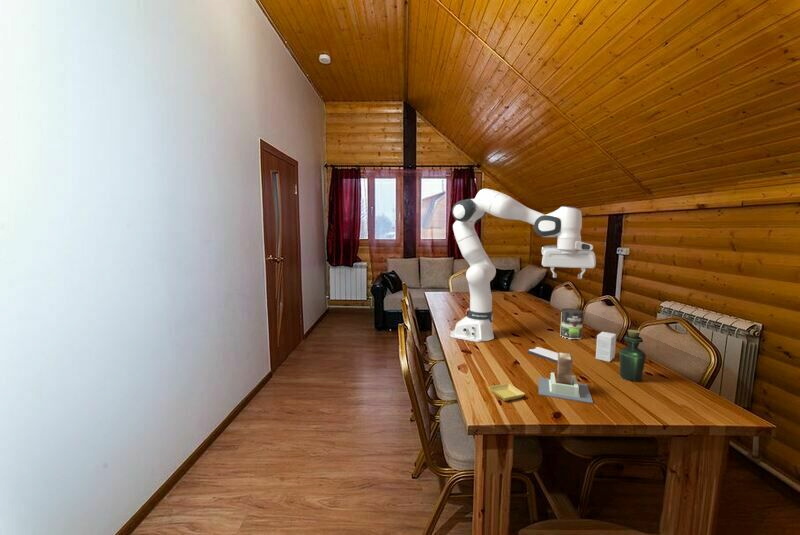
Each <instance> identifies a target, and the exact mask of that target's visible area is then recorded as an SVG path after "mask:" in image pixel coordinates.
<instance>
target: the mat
mask: <svg viewBox="0 0 800 535" xmlns="http://www.w3.org/2000/svg"><path fill="white" fill-rule="evenodd" d="M537 380H538V395H539V396H544V397H551V398H556V399H562V400H569V401H575V402H578V403H579V402H580V403H586V404H594V401H593V398H592V395H591V393H590V389H589V386H588V384H587V383H581V382H577V383H578V387H579V394H580V398H578V397H572V396H566V395H560V394H554V393H550V389H549V380H550V378H547V377H539V376H538V379H537ZM555 381H557V379H555Z"/></svg>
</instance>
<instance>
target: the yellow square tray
mask: <svg viewBox="0 0 800 535" xmlns="http://www.w3.org/2000/svg"><path fill="white" fill-rule="evenodd" d="M488 389H489V390H490V391H491V393H492V394H494V395H495V396H496V397H498V398H500V399H501V400H502V401H504V402H507V401H513V400H516V399H520V398H522V397H524V396H525V395H526V393H525V391H524V392H523V391H522V390H520V389H518V388H517V387H516V386H514V385H513V384H511V383H508V382H507V383H503V384H501V383H500V384H497V385H495V384H494V385H489V386H488Z"/></svg>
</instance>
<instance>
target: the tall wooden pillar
mask: <svg viewBox="0 0 800 535" xmlns="http://www.w3.org/2000/svg"><path fill="white" fill-rule="evenodd" d="M557 353H558V363H557V366H556V367H557V368H556V369H557V370H556V371H557V372H556V380H557V383H560V384H567V385H571V380H572V375H573V357H572V354H571V353H565V352H557Z"/></svg>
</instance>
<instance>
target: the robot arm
mask: <svg viewBox="0 0 800 535" xmlns="http://www.w3.org/2000/svg"><path fill="white" fill-rule="evenodd" d="M451 214H452V217H453V218H454V220H455V222H454V223H453V224H452V231H453V233H454V234H453V235H454V238H455V240H456V243H457V245H458V248H459V250H460V253H461V255H462V257H463V258H464V259H465V261H466V262H467V264H468V265H469V268H468V269H467V270H466V272H465V277H466V280H467V284H468V289H469V307H468V308H467V309H466V310H465V316H464V317H463V318H461V319H460V320H459V321H457V322H456V324H455V327H454V329H453V330H451V332H450V334H449V335H450V337H451V338H453V339H459V340H464V341H470V342H473V343H474V342H475V343H480V342H487V341H491V340H492V341H493V340H494V339H495V335H494V330H493V319H494V317H493V316H494V315H493V314H494V313H493V310H492V309H493V307H492V306H493V294H492V291H491V284H490V283H491V281H492V280H494V278H495V277H496V274H497V270H496V267H495V266H494V264H493V263H492V261H491V259H490V257H489V256H488V254H487V252H486V251H485V249H484V247H483V245H482V242H481V240H480V238H479V236H478V233H477V231H476V228H475V224H478V223H479V222H480V221H481V220H482V219H484V218H485V217H486V215H487V214H490V215H492V216H494V217H496V218H500V219H503V220H516V221H523V222H525V223H528V224H530V225H532V226H533V229H534V232H535V233H536V234H537V235H538V236H540V237H542V238H552V239H553V238H554V239H557V242H556V244H552V245H551V244H545V245H544V246H542V247H541V252H540V253H541V255H542V258H541V266H542V267H546V268H550V271H551V273H552V278H554V279H557V276H558V274H557V273H556V272H555V271H554V270H555V268H570V269H571V268H572V269H573V268H575V269H576V268H578V269H580V270H581V272H580V273H578V274H577V279H578V280H581V279H583V275H584V273H585V272H586V269H594V268H596V266H597V259H596V254H595V252H594V251H593V250H594V245H593V244H590V243H587V242H585V241H582V236H581V230H582V228H583V216H582V215H583V214H582V211H581V209H580V208H578V207H576V206H570V205H562V206H560V207H559V208H557V209H556V210H554V211H551V212H549V213H547V214H545V213H542V212H540V211H537V210H534V209H531V208H530V207H527V206H526V205H524V204H522V203H520V202H519V201H518V200H516V199H515V198H513V197H511V196H509V195H508V194H505V193H503V192H502V191H501V192H500V191H497V190H495V189H491V188H482V189H480V190H479V191H478V192H477V193H476V195H475V197H474V198H467V199H461V200H459V201H457V202H456V203H454V205H453V206H452V209H451Z"/></svg>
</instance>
